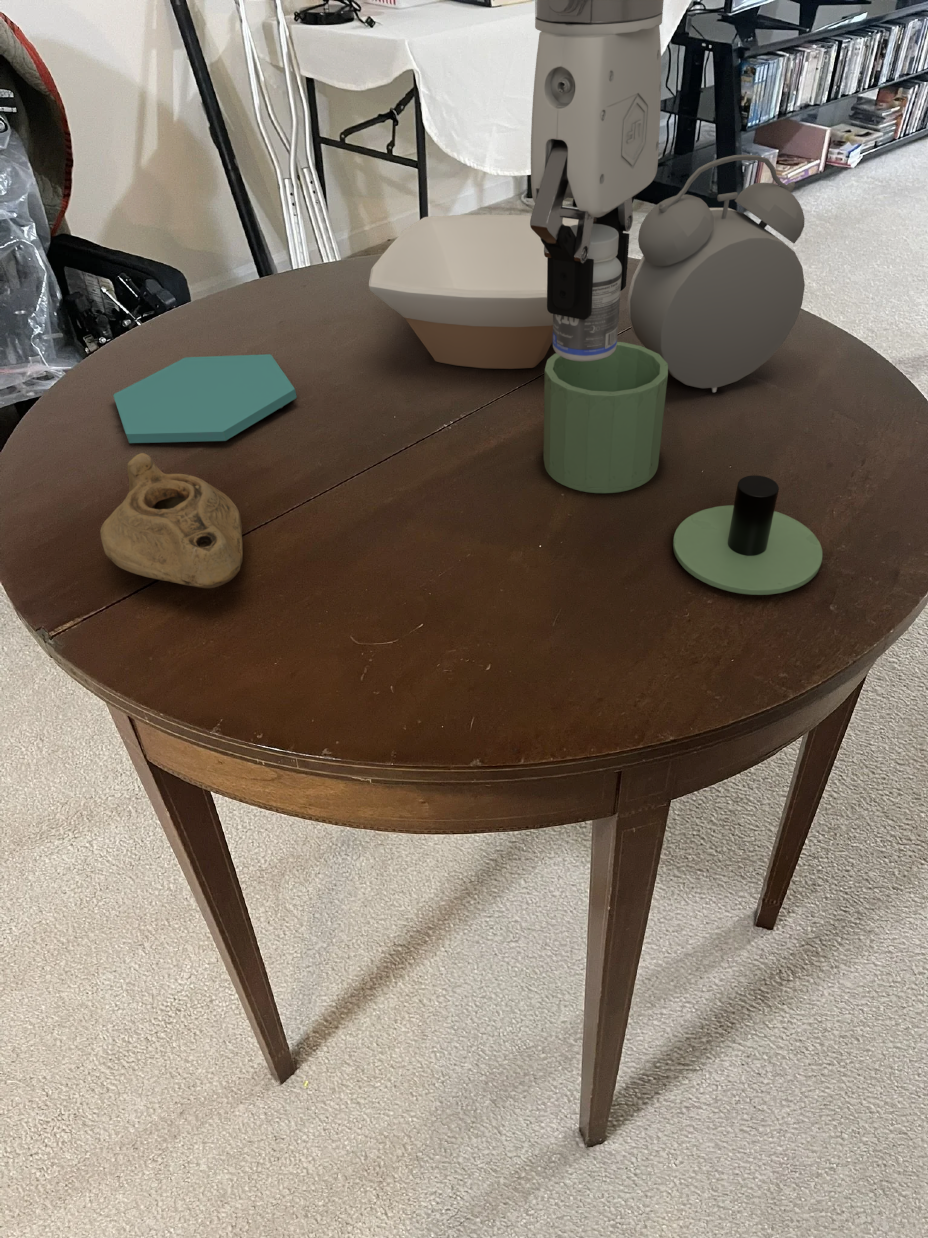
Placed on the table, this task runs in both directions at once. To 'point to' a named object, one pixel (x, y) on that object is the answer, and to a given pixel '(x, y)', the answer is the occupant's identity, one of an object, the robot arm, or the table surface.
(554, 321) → the pill bottle
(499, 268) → the bowl
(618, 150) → the robot arm
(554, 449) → the cup
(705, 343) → the alarm clock
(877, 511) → the table surface
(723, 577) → the tin lid
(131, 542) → the oil lamp
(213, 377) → the plaque
